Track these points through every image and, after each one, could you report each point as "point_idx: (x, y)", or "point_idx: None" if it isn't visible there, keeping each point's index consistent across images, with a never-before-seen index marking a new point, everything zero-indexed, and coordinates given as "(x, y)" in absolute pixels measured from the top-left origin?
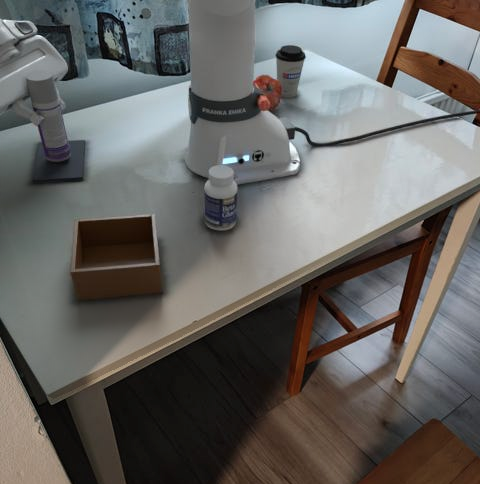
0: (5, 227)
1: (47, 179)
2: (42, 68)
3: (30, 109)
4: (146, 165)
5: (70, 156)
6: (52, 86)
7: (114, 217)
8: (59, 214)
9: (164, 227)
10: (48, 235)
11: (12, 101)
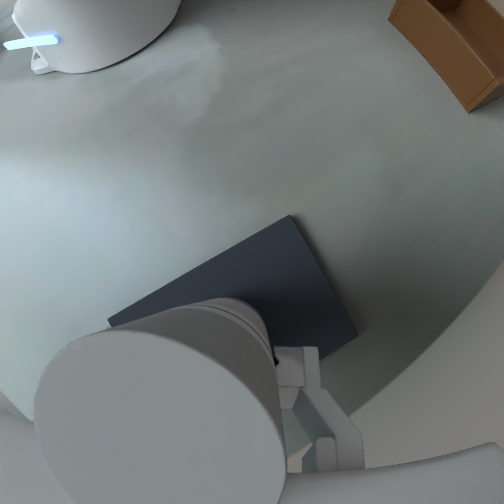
0: (494, 272)
1: (338, 299)
2: (15, 485)
3: (316, 405)
4: (161, 112)
5: None
6: (160, 319)
7: (453, 28)
8: (428, 193)
9: (352, 17)
10: (478, 179)
11: (408, 463)
